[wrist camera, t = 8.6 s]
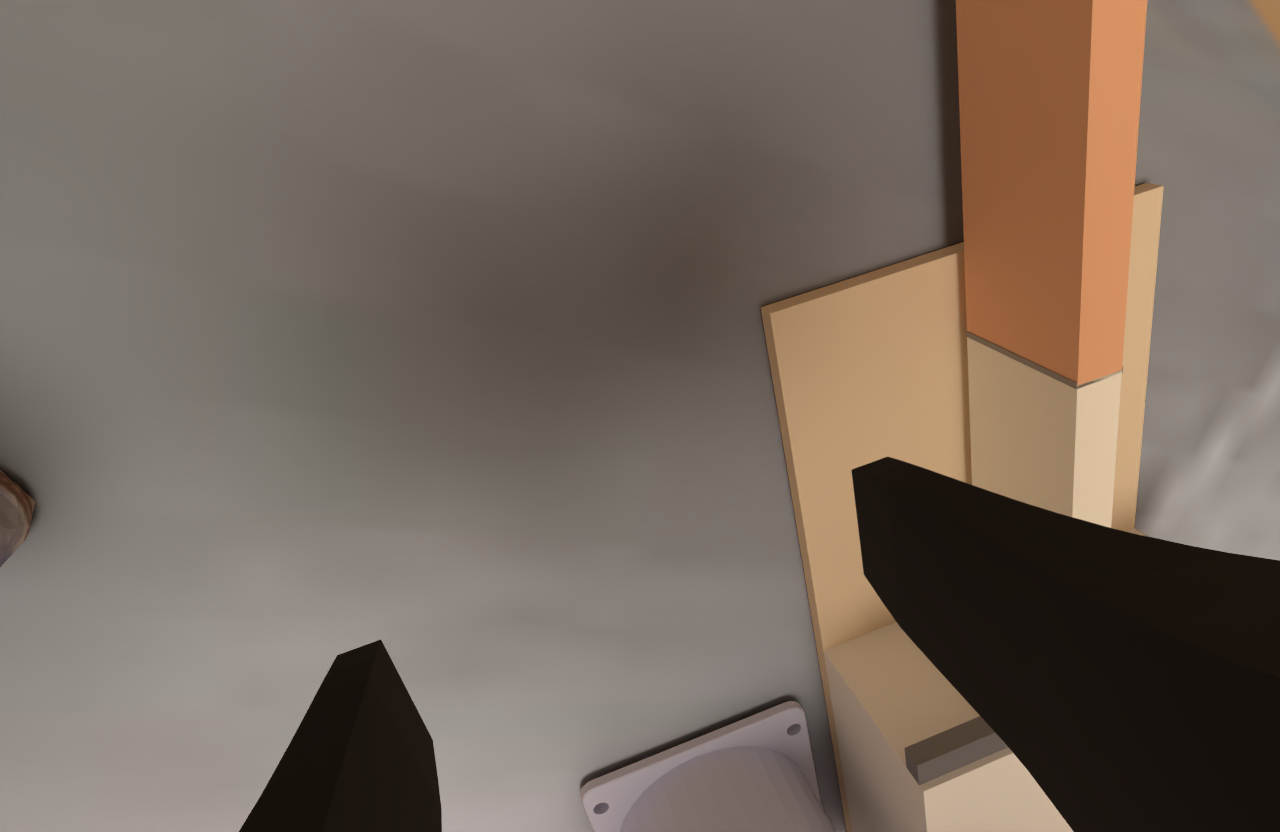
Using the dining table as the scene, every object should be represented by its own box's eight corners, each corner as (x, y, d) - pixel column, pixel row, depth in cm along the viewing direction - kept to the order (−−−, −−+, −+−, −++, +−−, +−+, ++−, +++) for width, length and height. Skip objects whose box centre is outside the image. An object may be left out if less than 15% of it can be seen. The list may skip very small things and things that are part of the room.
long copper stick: (1007, 546, 25) (1105, 624, 22) (973, 559, 25) (1066, 640, 21) (1001, -213, 16) (1168, -292, 12) (947, -200, 16) (1101, -276, 12)
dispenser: (1104, 728, 33) (1244, 861, 27) (847, 839, 31) (942, 1005, 25) (1145, 183, 22) (1387, 220, 17) (760, 307, 20) (888, 394, 15)
